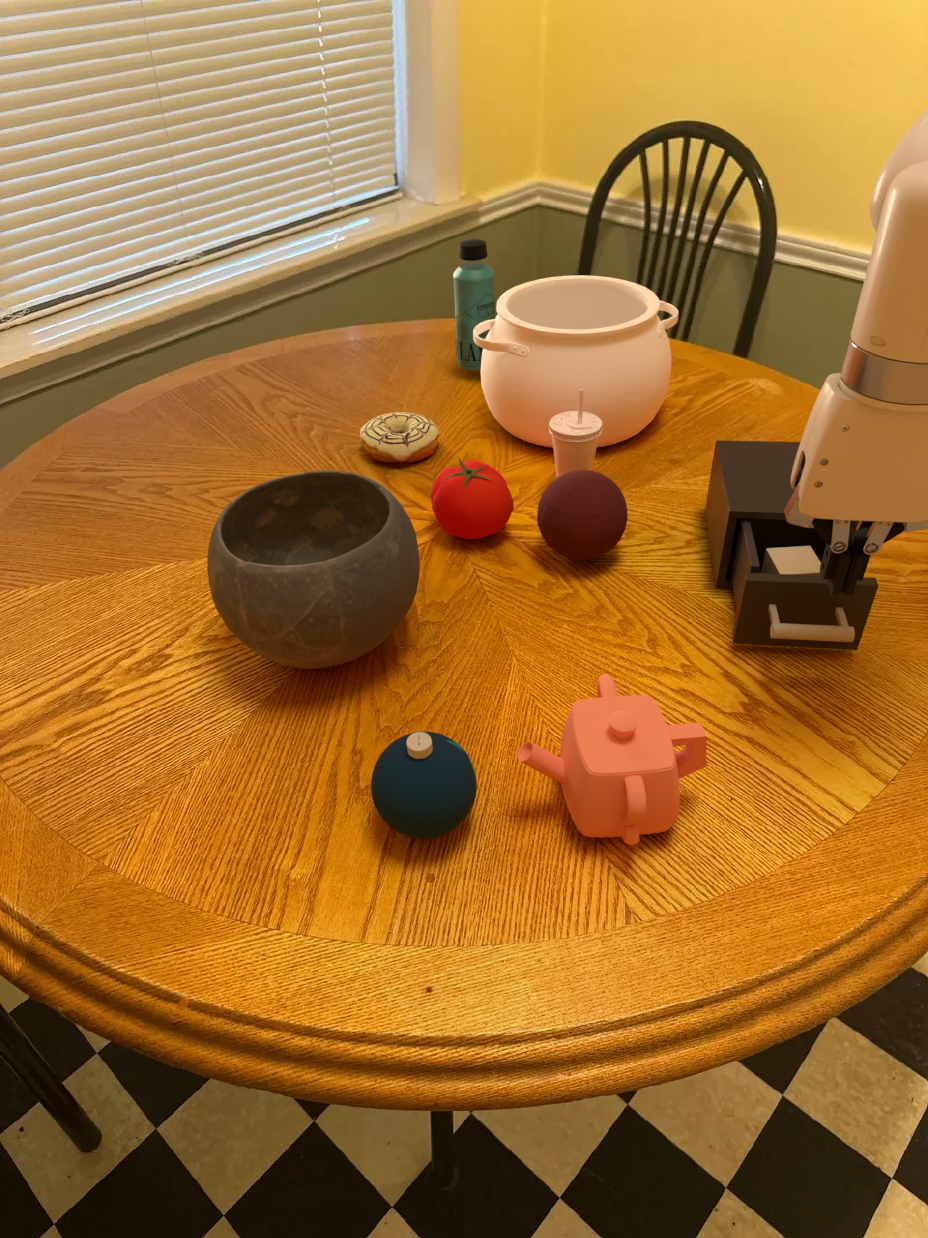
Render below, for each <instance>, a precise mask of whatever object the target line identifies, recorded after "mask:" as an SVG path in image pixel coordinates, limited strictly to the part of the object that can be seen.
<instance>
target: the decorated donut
mask: <svg viewBox="0 0 928 1238" xmlns="http://www.w3.org/2000/svg"><path fill="white" fill-rule="evenodd" d="M440 435H441V433H440V430H439V429H438V426H437V424H435V422H434V421H432V420H431V418H428V417H426V416H424V415H422V414H419V413H415V412H410V411H396V412H395V411H394V412H387V413H383V414H380V415H378V416H375V417H373V418H372V419H370V420H369V421H367V422H366V423H365V424H364V425H362V426H361V428H360V429H359V442H360V444H361V445H362V448H363V449H364V450H365V451H366V453H367V454H368V455H369V456H370V457H371V458H373V459H375V460H376V461H380V462H382V463H391V464H395V463H398V464H399V463H401V464H403V463H407V464H412V463H414V462H418V461H421V460H423V459H425V458H427V457H431V456H432V455H433V454H435V451H436V449H437V447H438V444H439V437H440Z"/></svg>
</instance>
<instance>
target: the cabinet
mask: <svg viewBox="0 0 928 1238" xmlns="http://www.w3.org/2000/svg"><path fill="white" fill-rule="evenodd" d="M800 442H801V441H773V440H772V441H770V440H769V441H765V440H720V439H719V440H718V439H717V440H715V444H714V449H713V456H712V463H711V469H710V476H709V481H708V488H707V495H706V501H705V508H704V519H705V526H706V532H707V538H708V545H709V552H710V558H711V565H712V572H713V579H714V585H715V589H732V590H733V587H732V581H731V575H730V570H729V560H730V555H731V549H732V544H733V539H734V533H735V528H736V523H737V518H738V519H769V520H786V516H785V513H784V509H785V507H786V505H787V503H788V502H789V500H790V498H791V496H792V494H793V492H794V491H795V489H792V487H791V474H792V469H793V465H794V461H795V458H796V455H797V451H798V448H799V445H800ZM858 523H859V521H852V520H851V521H850V530H849V533H854V532H855V531H856V527H857V525H858Z"/></svg>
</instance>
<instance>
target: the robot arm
mask: <svg viewBox="0 0 928 1238" xmlns="http://www.w3.org/2000/svg"><path fill="white" fill-rule="evenodd" d="M869 205H870V207H869V216H870V220H871V225H872V227H873V229H874V231H875V236H874V240H873V243H872V249H871V251H870V257H869V261H868V264H867V268H866V272H865V276H864V280H863V284H862V287H861V292H860V294H859V295H860V296H859V300H858V303H857V308H856V311H855V315H854V319H853V324H852V328H851V331H850V335H849V338H848V342H847V345H846V346H847V347H846V349H845V354H844V359H843V363H842V365H841V370H840V372H834V373H831V374H829V375H827V376H826V379H825V381H824V383H823V384H822V387H821V389H820V391H819V392H818V395H817V397H816V399H815V402H814V404H813V407H812V409H811V412H810V414H809V417H808V420H807V422H806V425H805V427H804V431H803V434H802V437H801V440H800V441H799V442H800V445H799V448H798V451H797V455H796V458H795V461H794V465H793V469H792V474H791V487H792V489H795V491H794V492H793V494H792V496H791V498H790V500H789V502H788V503H787V505H786V507H785V509H784V513H785V516H786V520H787V522H788V523H790V524H794V525H798V526H802V527H806V528H813V529H815V531H816V532H817V533H818V534H819V535H820V536H821V537H822V538H823V539H824V540H825V541H826V547H825V550H824V554H823V558H822V561H821V565H820V575H821V578H822V579H826V581H827V585H828V588H829V591H830V594H831V595H838V594H839V593H841V592H842V593H843V594H844V595H849V596H852V595H853V593H854V589H855V586H856V583H857V581H862V580H863V578H864V577H865V573H866V571H867V569H868V565H869V561H870V558H871V556H872V555H875V554H877V553H878V552H879V551H880V550H881V547H882V546H883V545H884V544H886V543H887V542H889V541H891V540H892V539H894V538H896V537H897V536H899V535H901V534H902V533H904V532H905V533H911V532H916V531H917V532H918V531H924V530H928V107H927V108H926V109H925V110H924V111H923V113H922V114H920V116H919V117H918V118H917V119H916V120H915V122H914V123H913V124H912V125H911V126H910V127H909V129H908V130H907V131H906V132H905V133H904V134H903V136H902V137H901V138H900V140H899V141H898V143H896V146H895V147H894V148H893V149H892V151H891V152H890V154H889V156H888V157H887V159H886V160H885V162H884V164H883V165H882V167H881V170H880V172H879V173H878V176H877V178H876V181H875V183H874V186H873V189H872V194H871V199H870V204H869ZM851 520H852V521H859V523H858V525H857V527H856V531H855V532H854V533H849V530H850V521H851Z"/></svg>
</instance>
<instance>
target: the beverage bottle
mask: <svg viewBox="0 0 928 1238" xmlns="http://www.w3.org/2000/svg"><path fill="white" fill-rule="evenodd" d="M458 253H459V254H458V256H459V259H461V260H462V261H467V262H464V263H462V264H460V265H459V266H458V267H457V268H455V270H454V271H453V273H452V279H453V294H454V295H453V296H454V297H453V298H454V333H455V334H454V335H455V338H454V340H455V359H456V360H455V361H456V363H457V365H458V368H460V369H461V370H464V371H467V372H481V360H482V351H483V348H481V347H479V346H478V345H476V344H475V342H474V340H473V330H474V328H475V327H476V326H477V325H478V324H480V323H481V322H484V321H487V320H492V319H495V318H496V302H497V300H496V297H495V271H494V269H493V268H492V267H491V266H489V264H487V263H486V262H482V261H483V260H485V259H486V258H488V248H487V242H486V241H485V240H484V239H478V238H477V239H476V238H472V239H471V238H470V239H466V240H462V241H461V242H460V243H459V252H458ZM489 331H490V329H489V330H486V331H484V332H482V333H481V334H479V335H478V337H480V338H482V339H485V338H486V336H487V335H488V333H489Z"/></svg>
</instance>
